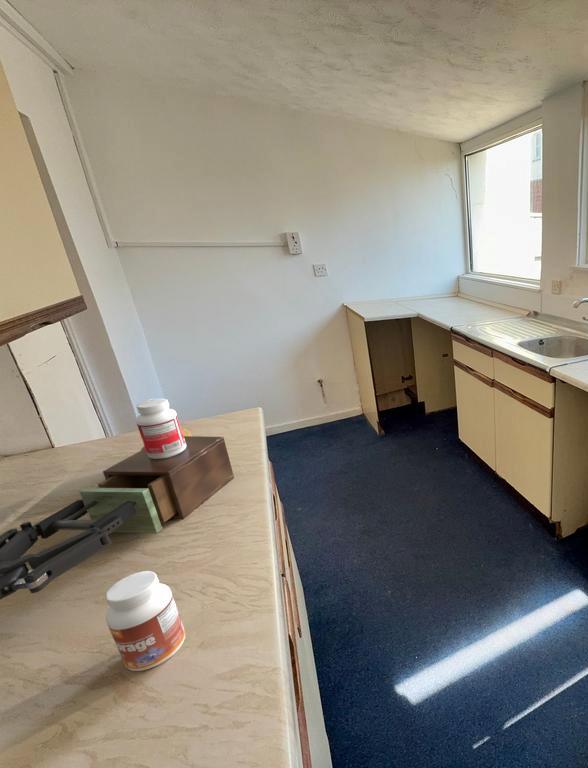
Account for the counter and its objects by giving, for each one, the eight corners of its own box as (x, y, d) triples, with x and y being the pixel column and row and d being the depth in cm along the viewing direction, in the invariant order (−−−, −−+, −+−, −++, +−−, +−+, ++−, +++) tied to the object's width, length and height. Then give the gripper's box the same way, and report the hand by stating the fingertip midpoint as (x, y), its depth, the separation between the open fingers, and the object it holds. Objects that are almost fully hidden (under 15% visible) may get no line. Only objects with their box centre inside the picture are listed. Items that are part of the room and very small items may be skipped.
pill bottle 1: (161, 446, 83) (145, 397, 80) (193, 444, 84) (179, 396, 81) (140, 461, 78) (122, 409, 74) (175, 458, 78) (159, 407, 75)
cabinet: (183, 519, 77) (168, 472, 74) (120, 518, 78) (102, 471, 74) (234, 477, 91) (223, 436, 88) (180, 477, 91) (167, 435, 88)
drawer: (121, 561, 66) (104, 517, 63) (54, 560, 66) (33, 516, 63) (211, 490, 85) (200, 454, 82) (159, 489, 85) (146, 453, 82)
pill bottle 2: (112, 675, 49) (80, 608, 46) (149, 630, 55) (124, 567, 51) (165, 671, 50) (138, 604, 46) (197, 626, 56) (175, 564, 52)
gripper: (-145, 645, 49) (57, 523, 70) (20, 648, 49) (172, 525, 70) (-180, 599, 46) (40, 487, 68) (-6, 601, 46) (160, 489, 68)
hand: (107, 506), depth 69 cm, fingers closed on drawer, 8 cm apart
